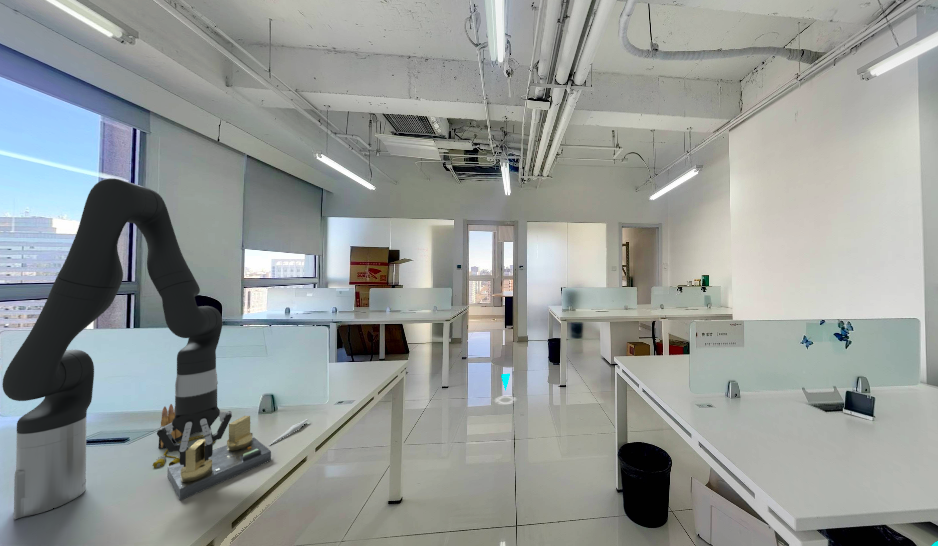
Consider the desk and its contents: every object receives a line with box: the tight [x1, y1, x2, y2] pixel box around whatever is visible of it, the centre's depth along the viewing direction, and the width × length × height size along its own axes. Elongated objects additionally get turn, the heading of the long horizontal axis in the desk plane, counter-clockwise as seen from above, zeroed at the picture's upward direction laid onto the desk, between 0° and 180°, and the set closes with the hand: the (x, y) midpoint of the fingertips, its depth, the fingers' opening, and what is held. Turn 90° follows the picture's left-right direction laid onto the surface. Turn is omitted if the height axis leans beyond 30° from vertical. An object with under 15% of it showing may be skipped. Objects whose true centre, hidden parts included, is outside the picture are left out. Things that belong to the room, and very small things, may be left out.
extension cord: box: [152, 434, 216, 469], centre depth 86 cm, size 12×16×2 cm
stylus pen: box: [268, 418, 309, 447], centre depth 95 cm, size 15×3×2 cm, turn 165°
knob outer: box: [226, 415, 253, 451], centre depth 84 cm, size 6×6×7 cm
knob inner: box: [181, 438, 212, 482], centre depth 72 cm, size 6×6×7 cm
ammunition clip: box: [158, 403, 183, 449], centre depth 93 cm, size 11×2×12 cm, turn 176°
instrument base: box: [167, 435, 272, 501], centre depth 78 cm, size 18×14×4 cm
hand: (196, 461), depth 71 cm, fingers open, 3 cm apart
